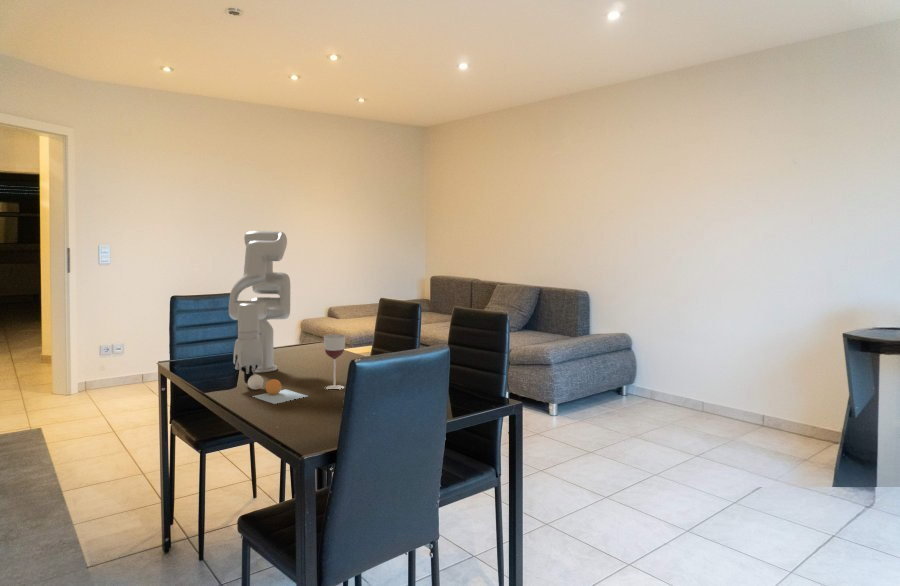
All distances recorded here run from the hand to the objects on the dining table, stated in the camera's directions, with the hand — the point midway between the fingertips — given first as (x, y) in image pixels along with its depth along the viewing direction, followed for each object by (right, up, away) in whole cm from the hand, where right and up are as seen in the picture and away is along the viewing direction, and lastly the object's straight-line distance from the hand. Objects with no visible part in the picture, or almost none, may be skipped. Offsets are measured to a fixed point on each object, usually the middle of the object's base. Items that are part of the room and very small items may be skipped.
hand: (248, 382), depth 221 cm
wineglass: (+32, -2, +2) cm, 33 cm away
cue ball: (+4, +1, -4) cm, 6 cm away
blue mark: (+16, -3, -13) cm, 21 cm away
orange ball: (+13, 0, -11) cm, 17 cm away
